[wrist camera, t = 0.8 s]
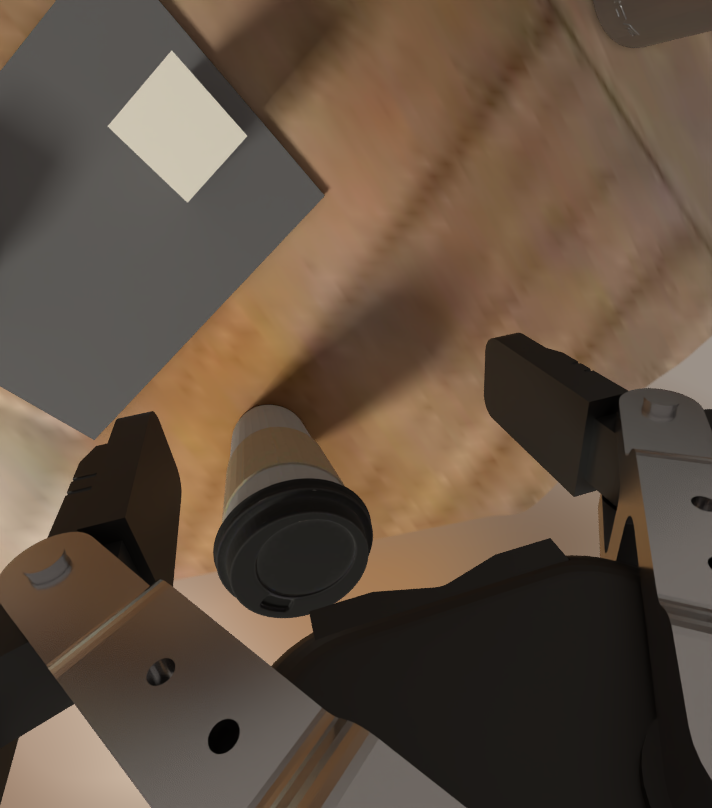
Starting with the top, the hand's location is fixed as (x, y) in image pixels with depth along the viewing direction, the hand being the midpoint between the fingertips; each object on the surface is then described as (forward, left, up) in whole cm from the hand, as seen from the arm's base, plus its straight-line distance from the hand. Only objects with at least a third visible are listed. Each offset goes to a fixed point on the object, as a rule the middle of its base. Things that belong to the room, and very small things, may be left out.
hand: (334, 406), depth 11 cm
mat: (+6, -7, -24) cm, 26 cm away
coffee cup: (+10, +11, -25) cm, 29 cm away
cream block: (-2, -7, -24) cm, 25 cm away
